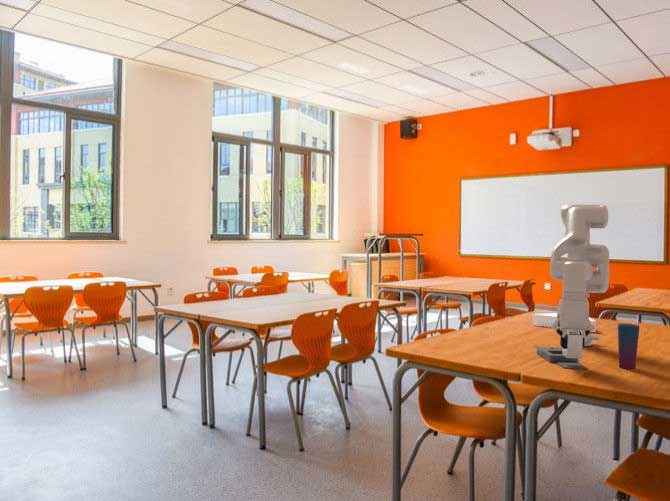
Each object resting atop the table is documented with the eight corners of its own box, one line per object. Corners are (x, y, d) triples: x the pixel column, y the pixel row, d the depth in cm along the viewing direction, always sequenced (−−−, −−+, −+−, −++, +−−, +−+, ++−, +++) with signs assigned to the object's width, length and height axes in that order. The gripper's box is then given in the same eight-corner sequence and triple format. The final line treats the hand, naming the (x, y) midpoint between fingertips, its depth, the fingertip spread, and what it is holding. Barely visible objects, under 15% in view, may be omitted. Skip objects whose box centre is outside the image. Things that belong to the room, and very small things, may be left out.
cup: (612, 365, 198) (613, 323, 197) (630, 365, 198) (631, 323, 198) (623, 370, 191) (625, 326, 190) (642, 370, 191) (643, 326, 191)
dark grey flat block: (562, 354, 215) (563, 347, 215) (577, 363, 200) (578, 355, 200) (536, 353, 216) (536, 346, 216) (549, 362, 201) (549, 354, 201)
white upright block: (576, 355, 198) (577, 331, 197) (581, 358, 193) (582, 333, 192) (562, 354, 198) (562, 330, 198) (567, 358, 193) (568, 333, 193)
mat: (578, 363, 199) (578, 362, 199) (587, 369, 191) (587, 368, 191) (556, 363, 200) (556, 361, 200) (564, 368, 192) (564, 367, 192)
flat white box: (532, 326, 283) (533, 314, 283) (551, 321, 303) (551, 309, 303) (595, 334, 264) (595, 321, 264) (610, 327, 284) (611, 315, 283)
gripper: (594, 296, 198) (592, 347, 199) (545, 295, 199) (544, 345, 199) (603, 298, 191) (601, 351, 191) (552, 297, 191) (551, 350, 192)
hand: (572, 347), depth 195 cm, fingers closed on white upright block, 5 cm apart
